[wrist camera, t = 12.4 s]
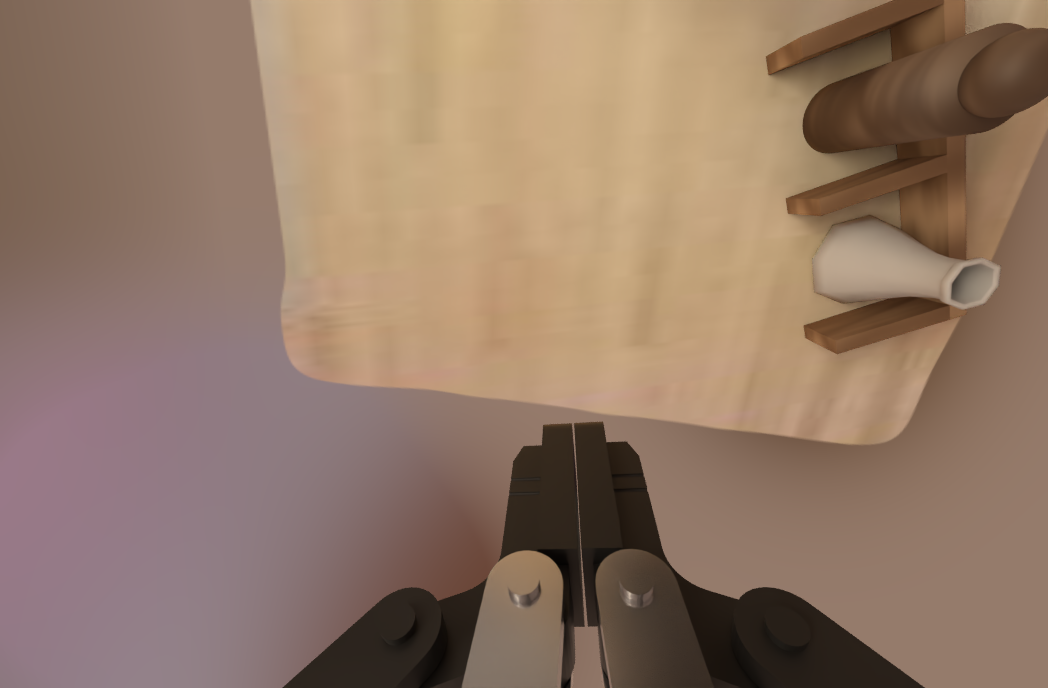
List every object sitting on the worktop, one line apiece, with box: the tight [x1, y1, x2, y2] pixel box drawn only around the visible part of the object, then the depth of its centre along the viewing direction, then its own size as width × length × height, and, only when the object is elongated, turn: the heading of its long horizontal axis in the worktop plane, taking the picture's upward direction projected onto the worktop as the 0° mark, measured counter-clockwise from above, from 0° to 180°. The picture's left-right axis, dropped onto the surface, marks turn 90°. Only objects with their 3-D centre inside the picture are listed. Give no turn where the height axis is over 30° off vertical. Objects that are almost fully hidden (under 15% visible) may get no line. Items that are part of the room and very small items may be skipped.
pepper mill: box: [803, 23, 1048, 153], centre depth 25 cm, size 5×5×14 cm
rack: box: [766, 0, 966, 354], centre depth 31 cm, size 23×10×4 cm, turn 20°
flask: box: [812, 215, 1001, 310], centre depth 30 cm, size 7×7×10 cm
